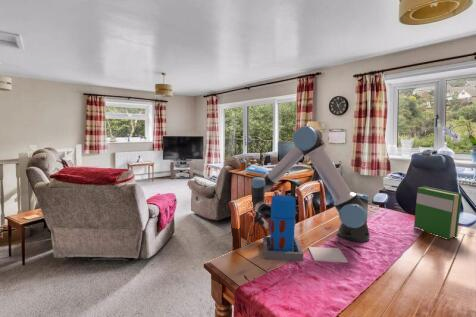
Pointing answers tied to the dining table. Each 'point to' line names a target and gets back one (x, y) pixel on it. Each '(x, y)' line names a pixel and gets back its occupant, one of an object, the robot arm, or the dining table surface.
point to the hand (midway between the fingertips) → (281, 224)
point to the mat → (327, 254)
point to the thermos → (282, 223)
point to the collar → (281, 254)
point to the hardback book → (438, 211)
